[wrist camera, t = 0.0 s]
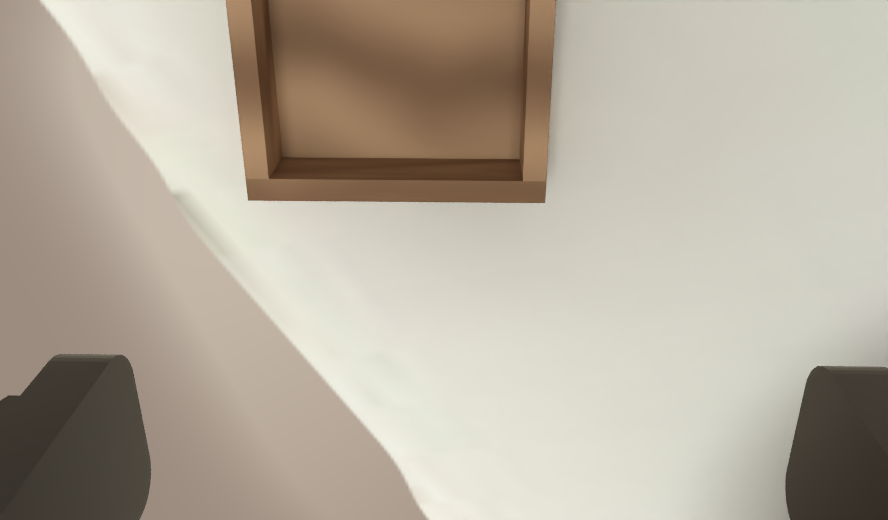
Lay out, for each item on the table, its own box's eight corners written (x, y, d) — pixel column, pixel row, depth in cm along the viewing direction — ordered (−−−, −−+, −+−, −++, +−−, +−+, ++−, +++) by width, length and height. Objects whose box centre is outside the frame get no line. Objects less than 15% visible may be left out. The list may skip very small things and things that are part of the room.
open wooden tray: (240, -75, 35) (218, -68, 32) (551, -75, 35) (559, -68, 32) (265, 173, 40) (248, 200, 37) (539, 175, 40) (544, 202, 36)
